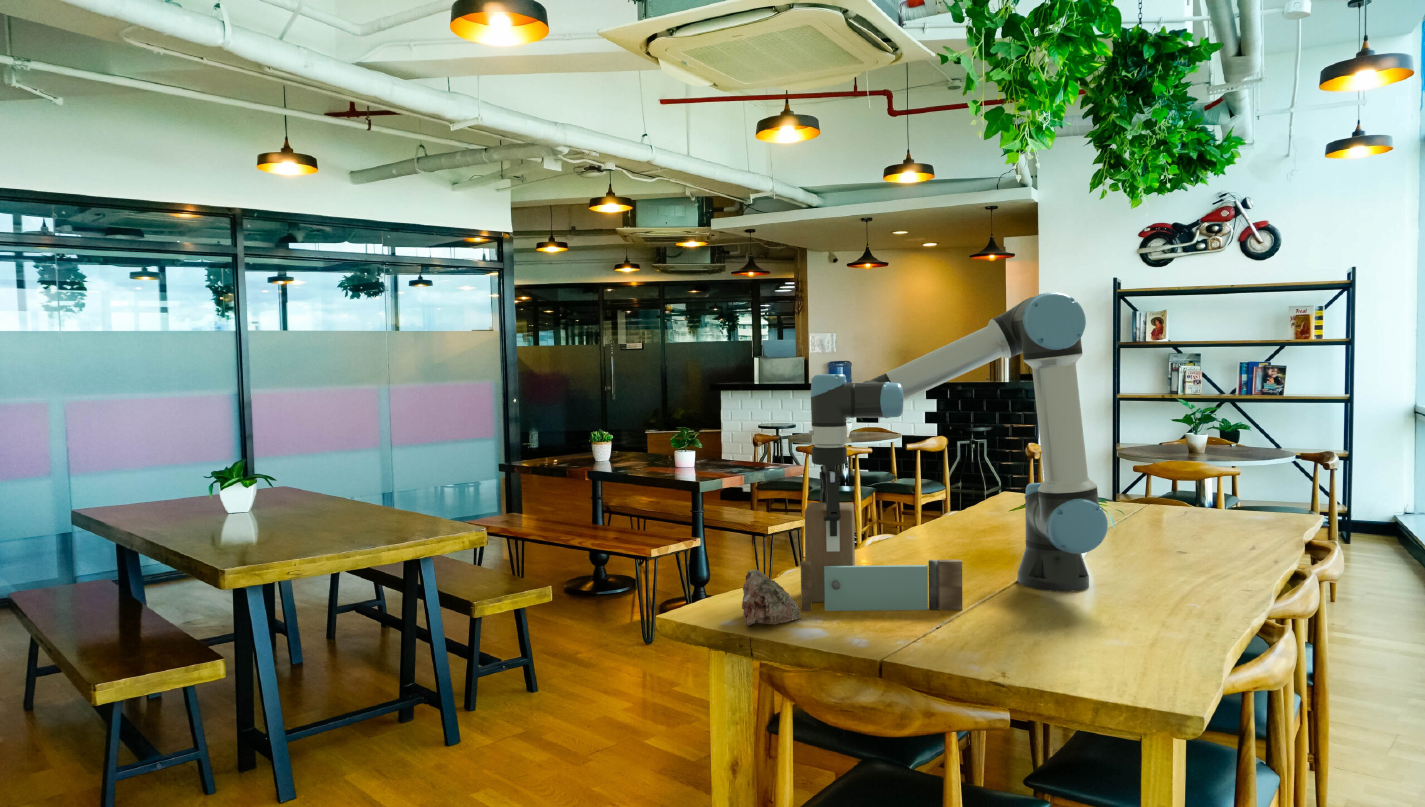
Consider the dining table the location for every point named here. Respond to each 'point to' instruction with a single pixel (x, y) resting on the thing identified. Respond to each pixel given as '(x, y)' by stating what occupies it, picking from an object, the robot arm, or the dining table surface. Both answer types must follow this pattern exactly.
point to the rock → (766, 601)
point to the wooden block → (817, 544)
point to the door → (876, 587)
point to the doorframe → (941, 585)
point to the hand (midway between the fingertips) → (830, 545)
